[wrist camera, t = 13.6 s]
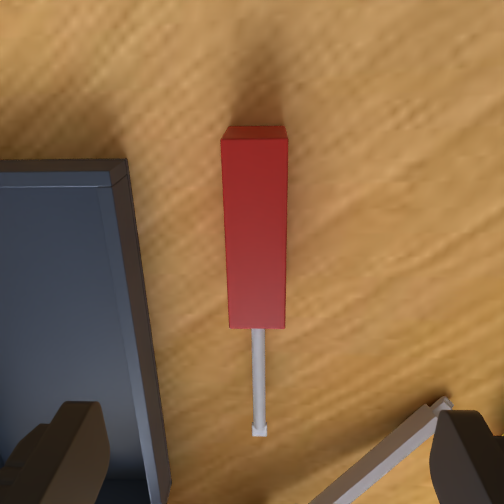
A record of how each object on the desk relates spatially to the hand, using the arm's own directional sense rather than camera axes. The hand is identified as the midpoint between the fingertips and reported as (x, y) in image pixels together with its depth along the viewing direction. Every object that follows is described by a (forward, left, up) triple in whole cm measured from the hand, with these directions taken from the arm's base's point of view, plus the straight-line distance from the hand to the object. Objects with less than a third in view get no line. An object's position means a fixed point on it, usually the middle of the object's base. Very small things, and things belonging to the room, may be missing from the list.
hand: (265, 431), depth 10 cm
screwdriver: (+5, -1, -15) cm, 16 cm away
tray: (+9, -14, -16) cm, 23 cm away
